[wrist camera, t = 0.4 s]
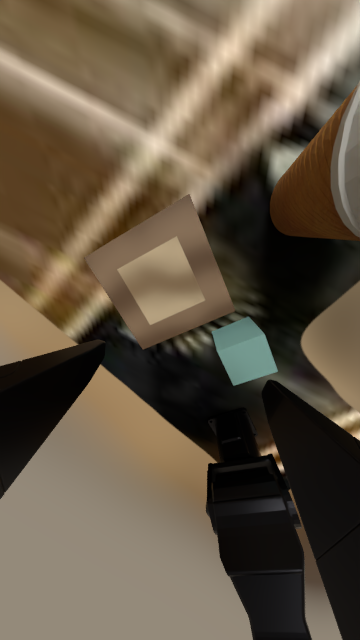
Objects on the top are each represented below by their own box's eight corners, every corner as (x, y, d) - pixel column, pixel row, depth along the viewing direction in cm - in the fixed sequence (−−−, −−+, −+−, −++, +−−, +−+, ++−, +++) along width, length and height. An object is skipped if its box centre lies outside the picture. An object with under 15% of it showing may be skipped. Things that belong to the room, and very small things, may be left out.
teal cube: (260, 347, 23) (277, 371, 18) (225, 360, 24) (233, 385, 19) (248, 316, 21) (264, 333, 17) (211, 331, 22) (217, 351, 18)
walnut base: (230, 304, 21) (235, 310, 19) (147, 340, 23) (142, 349, 21) (189, 201, 17) (189, 194, 15) (96, 257, 20) (83, 257, 17)
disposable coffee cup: (242, 247, 18) (321, 237, 7) (269, 130, 15) (504, -232, 4) (329, 258, 18) (543, 265, 7) (377, 143, 15) (942, -188, 4)
